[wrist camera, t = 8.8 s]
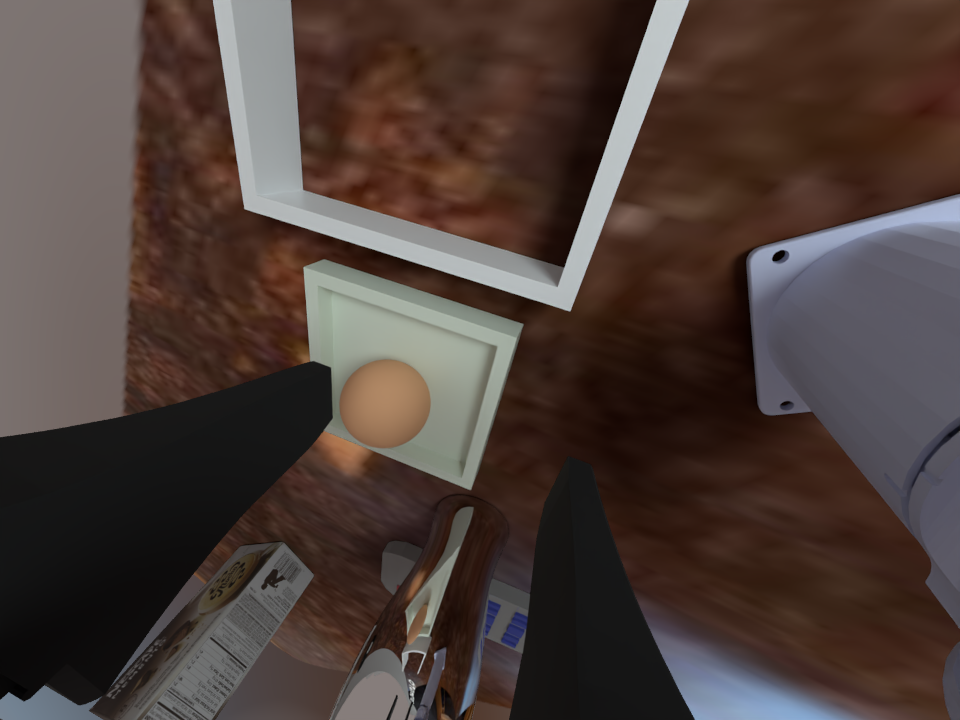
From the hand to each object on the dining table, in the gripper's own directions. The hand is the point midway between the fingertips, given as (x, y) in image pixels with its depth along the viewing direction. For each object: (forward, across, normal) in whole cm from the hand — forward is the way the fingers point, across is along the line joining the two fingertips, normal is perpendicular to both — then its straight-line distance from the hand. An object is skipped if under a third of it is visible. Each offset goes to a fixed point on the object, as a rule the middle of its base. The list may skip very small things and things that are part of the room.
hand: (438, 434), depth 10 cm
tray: (+10, +5, +6) cm, 13 cm away
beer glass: (+10, -2, +18) cm, 21 cm away
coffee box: (+10, +20, +41) cm, 46 cm away
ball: (+9, +5, +6) cm, 13 cm away
